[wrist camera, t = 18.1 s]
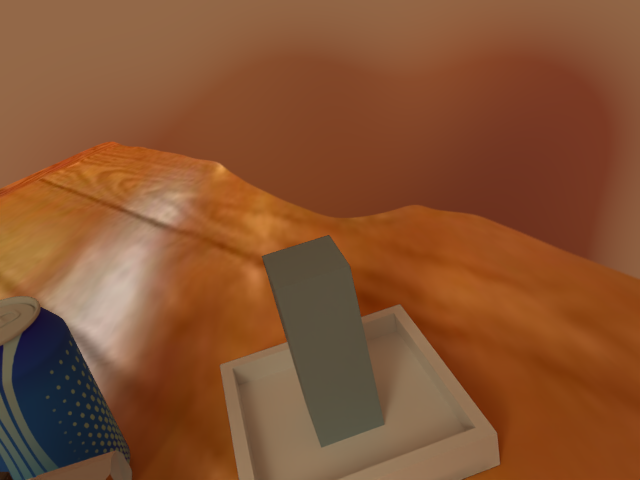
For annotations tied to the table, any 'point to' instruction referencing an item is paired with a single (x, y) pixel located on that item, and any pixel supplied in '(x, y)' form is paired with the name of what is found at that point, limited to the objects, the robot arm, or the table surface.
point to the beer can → (47, 395)
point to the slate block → (325, 338)
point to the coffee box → (5, 476)
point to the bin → (371, 446)
